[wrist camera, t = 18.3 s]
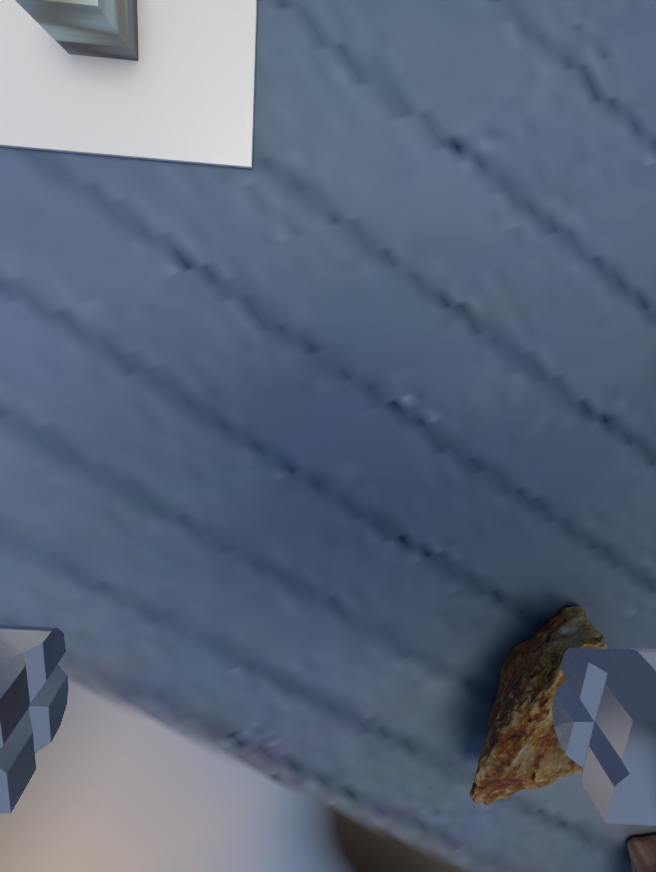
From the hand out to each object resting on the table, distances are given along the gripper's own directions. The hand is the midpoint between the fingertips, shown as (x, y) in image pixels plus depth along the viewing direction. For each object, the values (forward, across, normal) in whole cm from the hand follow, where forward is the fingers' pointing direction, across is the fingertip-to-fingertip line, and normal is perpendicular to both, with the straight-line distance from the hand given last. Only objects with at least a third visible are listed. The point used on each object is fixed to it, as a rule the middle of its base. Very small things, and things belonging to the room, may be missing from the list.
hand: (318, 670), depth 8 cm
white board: (+34, +15, -22) cm, 43 cm away
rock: (+34, -23, +29) cm, 50 cm away
